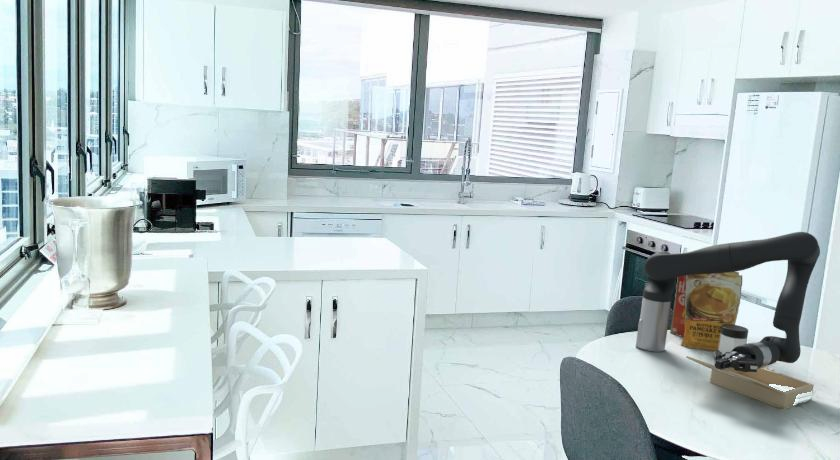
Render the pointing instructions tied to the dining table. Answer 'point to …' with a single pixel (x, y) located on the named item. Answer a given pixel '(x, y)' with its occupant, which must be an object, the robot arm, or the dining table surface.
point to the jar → (731, 337)
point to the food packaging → (679, 307)
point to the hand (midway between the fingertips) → (718, 365)
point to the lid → (736, 375)
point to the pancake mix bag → (710, 307)
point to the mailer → (761, 392)
